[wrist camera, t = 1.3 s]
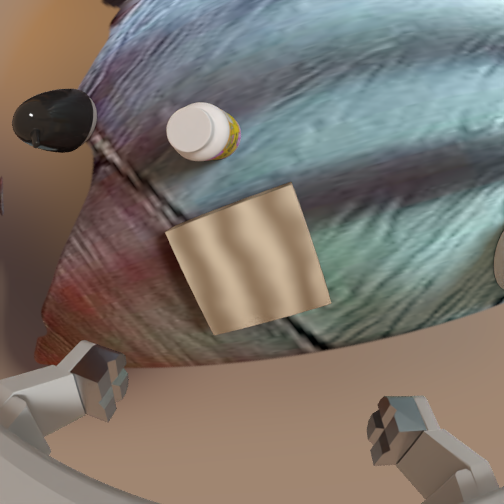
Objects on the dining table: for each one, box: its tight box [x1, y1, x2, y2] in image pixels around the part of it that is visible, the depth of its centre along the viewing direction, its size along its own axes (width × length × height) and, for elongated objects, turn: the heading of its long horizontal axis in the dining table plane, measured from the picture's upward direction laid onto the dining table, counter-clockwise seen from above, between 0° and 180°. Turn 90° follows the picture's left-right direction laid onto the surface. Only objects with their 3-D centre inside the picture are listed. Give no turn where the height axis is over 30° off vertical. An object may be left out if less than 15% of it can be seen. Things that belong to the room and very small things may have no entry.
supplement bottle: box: [167, 102, 241, 161], centre depth 33 cm, size 7×7×13 cm
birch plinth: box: [165, 182, 331, 335], centre depth 42 cm, size 18×17×4 cm
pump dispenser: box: [12, 89, 97, 153], centre depth 33 cm, size 10×10×15 cm
